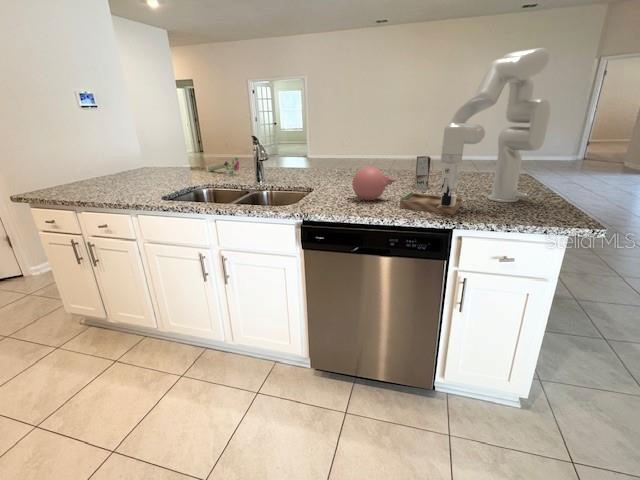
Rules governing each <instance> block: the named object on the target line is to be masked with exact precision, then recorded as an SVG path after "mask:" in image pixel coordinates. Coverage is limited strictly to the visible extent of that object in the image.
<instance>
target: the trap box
mask: <svg viewBox="0 0 640 480" xmlns="http://www.w3.org/2000/svg"><path fill="white" fill-rule="evenodd" d="M441 196H442V195H433V194H422V193H413V190H411V191H409V192H407V193H406V194H404V195H403V196H401V197H400V201H399V209H405V210H414V211H420V212H421V211H422V212H430V213H435V214H436V213H438V214H444V215H445V214H446V215H452V216H454V215H455V214H456V212H458V210H459V209H460V208H461V206H462V199H463V198H462V197H456V204H455V205H454V207H447V206H440V204H441Z"/></svg>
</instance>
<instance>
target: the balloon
mask: <svg viewBox="0 0 640 480" xmlns="http://www.w3.org/2000/svg"><path fill="white" fill-rule="evenodd" d="M351 182H352V186H351V187H352V190H353V192H354V194H355V195H356V196H357V197H358V198H359V199H362V200H364V201H373V200H376V199H378V198H380V197H381V195H383V193H384V191H385V190H386V187H387V186H389V185H391V186H392V184H393V183H396V182H397V179H395V178H393V176H392V175H389V176H388V175H385V174H384V173H383V171H381V170H380V169H378V168H377V167H374V166H365V167H362V168H360V169H359V170H358V171H357V172H356V173H355V174H354V176H353V178H352V181H351Z"/></svg>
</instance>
